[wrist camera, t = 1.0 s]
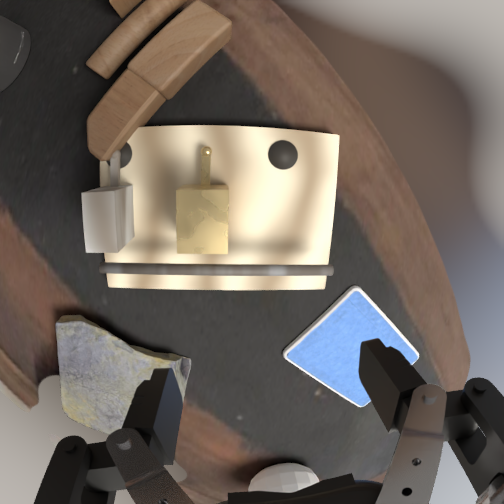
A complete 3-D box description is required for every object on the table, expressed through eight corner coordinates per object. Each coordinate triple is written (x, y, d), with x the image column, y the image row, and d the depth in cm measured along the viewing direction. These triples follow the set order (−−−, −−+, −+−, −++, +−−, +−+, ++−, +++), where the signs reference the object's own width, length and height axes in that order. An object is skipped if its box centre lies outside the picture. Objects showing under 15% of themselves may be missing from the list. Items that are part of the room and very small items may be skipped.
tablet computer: (418, 352, 39) (422, 357, 38) (359, 405, 41) (361, 410, 40) (352, 280, 34) (357, 284, 33) (277, 350, 36) (279, 357, 34)
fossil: (197, 334, 35) (63, 300, 31) (197, 358, 30) (48, 320, 26) (173, 427, 41) (71, 403, 36) (173, 450, 36) (64, 424, 32)
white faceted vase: (253, 455, 42) (263, 520, 29) (324, 453, 44) (344, 510, 31) (239, 486, 45) (246, 541, 33) (301, 484, 47) (315, 534, 35)
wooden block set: (242, 11, 19) (99, 165, 22) (238, 34, 24) (120, 163, 27) (118, -54, 14) (0, 77, 17) (130, -30, 20) (28, 85, 23)
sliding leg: (184, 237, 28) (176, 253, 23) (184, 146, 25) (177, 143, 21) (226, 237, 28) (227, 254, 24) (229, 146, 26) (231, 143, 21)
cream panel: (112, 281, 30) (90, 310, 24) (106, 131, 26) (76, 125, 19) (320, 283, 33) (342, 312, 26) (333, 136, 28) (363, 131, 22)
